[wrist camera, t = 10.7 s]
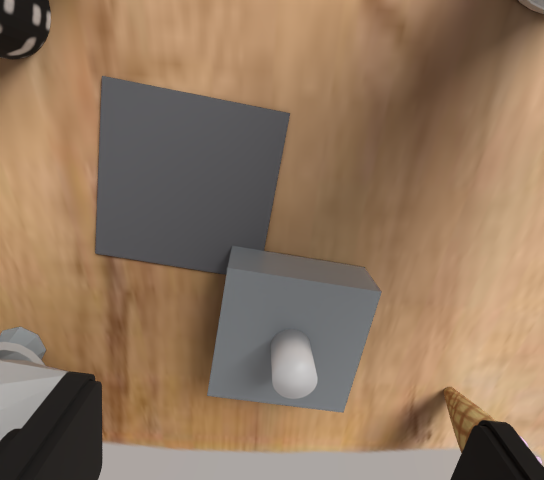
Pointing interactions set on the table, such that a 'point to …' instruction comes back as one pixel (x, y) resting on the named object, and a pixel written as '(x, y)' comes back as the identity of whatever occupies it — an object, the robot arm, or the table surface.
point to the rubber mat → (184, 175)
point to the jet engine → (23, 377)
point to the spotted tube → (23, 27)
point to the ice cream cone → (465, 416)
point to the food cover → (291, 330)
